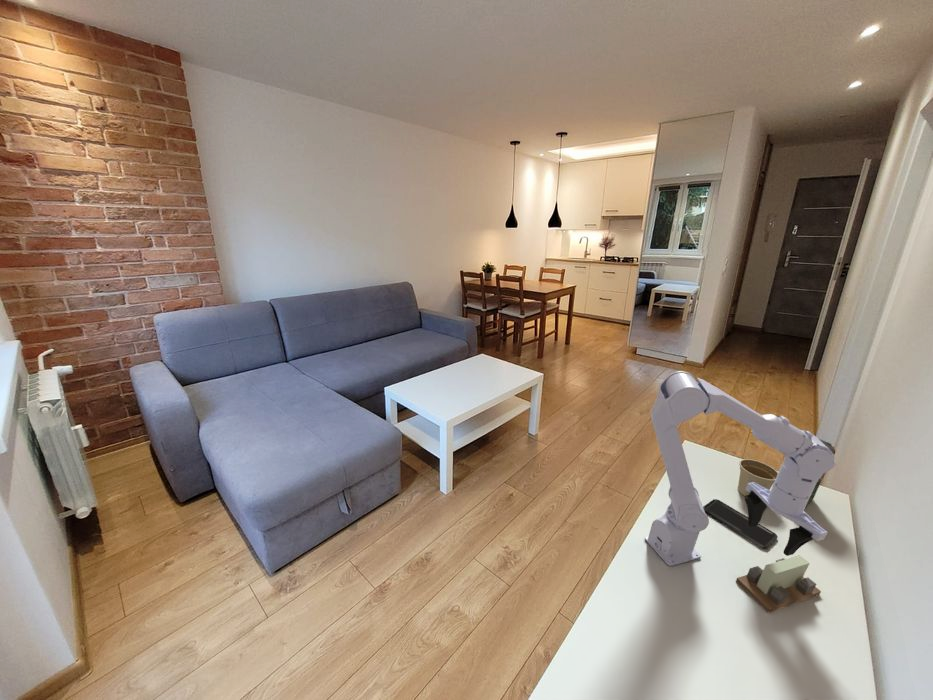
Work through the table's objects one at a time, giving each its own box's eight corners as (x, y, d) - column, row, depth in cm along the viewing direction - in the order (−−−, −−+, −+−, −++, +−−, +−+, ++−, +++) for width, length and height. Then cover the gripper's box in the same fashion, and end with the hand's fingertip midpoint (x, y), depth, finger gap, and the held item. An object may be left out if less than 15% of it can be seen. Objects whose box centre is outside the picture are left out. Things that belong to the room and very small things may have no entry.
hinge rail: (768, 612, 73) (774, 600, 72) (735, 581, 79) (740, 569, 78) (819, 594, 77) (825, 582, 76) (784, 566, 84) (789, 554, 82)
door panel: (766, 594, 76) (775, 573, 74) (756, 585, 78) (765, 565, 76) (799, 583, 79) (809, 563, 76) (789, 575, 80) (799, 555, 78)
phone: (715, 498, 103) (779, 535, 91) (714, 501, 103) (777, 539, 91) (701, 508, 99) (765, 548, 87) (700, 511, 99) (764, 552, 87)
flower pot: (723, 485, 109) (731, 461, 107) (745, 480, 112) (754, 456, 109) (754, 507, 101) (764, 482, 98) (778, 501, 104) (788, 476, 101)
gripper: (847, 511, 69) (820, 563, 74) (770, 464, 82) (751, 511, 87) (822, 517, 67) (795, 571, 72) (746, 468, 80) (728, 515, 85)
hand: (769, 538), depth 79 cm, fingers open, 7 cm apart
